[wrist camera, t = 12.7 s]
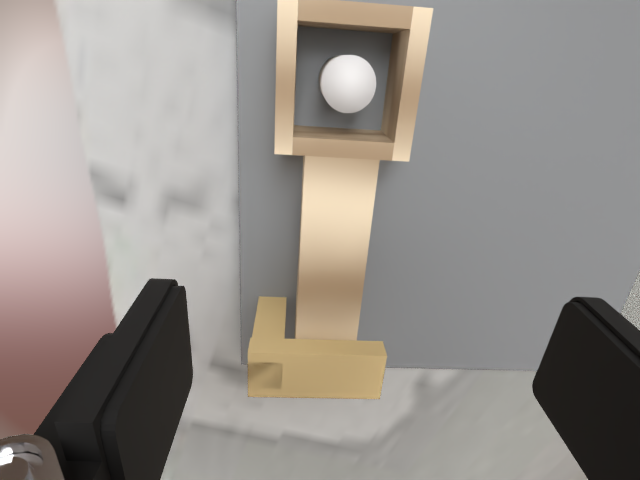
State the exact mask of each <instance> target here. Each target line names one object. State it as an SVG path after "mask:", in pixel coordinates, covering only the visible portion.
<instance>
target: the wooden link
mask: <svg viewBox="0 0 640 480" xmlns="http://www.w3.org/2000/svg"><path fill="white" fill-rule="evenodd" d="M432 14H433V8H426V7H413V6H401V5H389V4H377V3H365V2H353V1H341V0H277V50H276V100H275V150H274V154H282V155H300V156H303V176H302V196H301V216H300V236H299V256H298V276H297V296H296V316H295V336H294V339H318V340H355V341H357V333H358V326H359V318H360V310H361V302H362V294H363V287H364V279H365V271H366V263H367V255H368V247H369V240H370V232H371V224H372V216H373V208H374V201H375V193H376V185H377V177H378V169H379V162H380V160H389V161H406V162H409V159H410V153H411V147H412V140H413V134H414V128H415V121H416V115H417V109H418V102H419V96H420V90H421V83H422V77H423V71H424V64H425V58H426V52H427V45H428V39H429V33H430V27H431V20H432ZM298 26H303V27H316V28H328V29H341V30H354V31H367V32H380V33H393V36H392V44H391V52H390V60H389V68H388V76H387V84H386V92H385V100H384V108H383V116H382V124H381V130H366V129H349V128H333V127H317V126H300V125H294V112H295V87H296V61H297V35H298Z"/></svg>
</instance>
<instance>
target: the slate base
mask: <svg viewBox="0 0 640 480" xmlns="http://www.w3.org/2000/svg"><path fill="white" fill-rule="evenodd" d="M341 1H353V2H365V3H377V4H389V5H401V6H413V7H426V8H433V14H432V20H431V27H430V33H429V39H428V45H427V52H426V58H425V64H424V71H423V77H422V83H421V90H420V96H419V102H418V109H417V115H416V121H415V128H414V134H413V140H412V147H411V153H410V159H409V162H406V161H389V160H380V162H379V169H378V177H377V185H376V193H375V201H374V208H373V216H372V224H371V232H370V240H369V247H368V255H367V263H366V271H365V279H364V287H363V294H362V302H361V310H360V318H359V326H358V333H357V341H355V340H318V339H294V336H295V316H296V296H297V276H298V256H299V236H300V216H301V196H302V176H303V156H300V155H282V154H274V150H275V100H276V50H277V0H236V25H237V93H238V161H239V229H240V297H241V364H248V397H285V398H344V399H380V394H381V389H382V383H383V377H384V371H385V367H389V368H434V369H478V370H523V371H537V370H538V368H539V365H540V363H541V360H542V358H543V355H544V353H545V350H546V348H547V345H548V343H549V340H550V338H551V335H552V333H553V330H554V328H555V325H556V323H557V320H558V318H559V315H560V313H561V310H562V308H563V306H564V304H566V303H568V302H569V301H570V300H571V299H572V298H574V297H596V298H601V299H603V300H605V301H606V302H607V303H608V304H609V305H611V306H612V307H613V308H614V309H615V310H616V311H617V312H619V313H620V314H621V311H622V309H623V307H624V305H625V302H626V300H627V298H628V296H629V293H630V291H631V289H632V287H633V285H634V282H635V280H636V278H637V276H638V273H639V271H640V0H341ZM392 36H393V33H380V32H367V31H354V30H341V29H328V28H316V27H303V26H298V35H297V61H296V87H295V112H294V125H300V126H317V127H333V128H349V129H366V130H381V124H382V116H383V108H384V100H385V92H386V84H387V76H388V68H389V60H390V52H391V44H392Z"/></svg>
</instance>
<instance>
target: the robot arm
mask: <svg viewBox="0 0 640 480" xmlns="http://www.w3.org/2000/svg"><path fill="white" fill-rule="evenodd" d="M192 379H193V367H192V356H191V345H190V334H189V323H188V312H187V300H186V291H185V287H184V286H178V284H177V281H176V280H173V279H150V280H149V281H148V282H147V283H146V285H145V286H144V288H143V289H142V291H141V292H140V294H139V295H138V297H137V298H136V300H135V301H134V303H133V304H132V306H131V307H130V309H129V310H128V312H127V313H126V315H125V316H124V318H123V319H122V321H121V322H120V324H119V325H118V327H117V328H116V330H115V331H114V333H108V334H105V335H104V336H103V337H102V338H101V339H100V340H99V341H98V343H97V344H96V346H95V347H94V349H93V350H92V352H91V353H90V354H89V356H88V357H87V359H86V360H85V362H84V363H83V364H82V366H81V367H80V369H79V370H78V372H77V373H76V374H75V376H74V377H73V379H72V380H71V382H70V383H69V384H68V386H67V387H66V389H65V390H64V392H63V393H62V395H61V396H60V397H59V399H58V400H57V402H56V403H55V405H54V406H53V407H52V409H51V410H50V412H49V413H48V415H47V416H46V417H45V419H44V421H43V422H42V423H41V425H40V426H39V428H38V429H37V430H36V432H35V433H34V435H29V434H22V435H16V436H10V437H6V438H3V439H0V480H160V478H161V475H162V472H163V469H164V466H165V463H166V460H167V457H168V454H169V451H170V448H171V445H172V442H173V439H174V436H175V433H176V430H177V427H178V424H179V421H180V418H181V415H182V412H183V409H184V406H185V403H186V400H187V397H188V394H189V391H190V389H191V385H192ZM532 388H533V393H534V396H535V398H536V399H537V401H538V402H539V404H540V405H541V407H542V408H543V410H544V412H545V413H546V415H547V416H548V418H549V419H550V421H551V422H552V424H553V425H554V427H555V429H556V430H557V432H558V433H559V435H560V436H561V438H562V439H563V441H564V442H565V444H566V446H567V447H568V449H569V450H570V452H571V453H572V455H573V456H574V458H575V460H576V461H577V463H578V464H579V466H580V467H581V469H582V470H583V472H584V473H585V475H586V477H587V478H588V480H640V331H639V330H638V329H637V328H636V327H635V326H634V325H632V324H631V323H630V322H629V321H628V320H627V319H626V318H624V317H623V316H622V315H621V314H620V313H619V312H617V311H616V310H615V309H614V308H613V307H612V306H611V305H609V304H608V303H607V302H606V301H605V300H603V299H601V298H596V297H574V298H572V299H571V300H570V301H569V302H568V303H566V304H564V306H563V308H562V310H561V313H560V315H559V318H558V320H557V323H556V325H555V328H554V330H553V333H552V335H551V338H550V340H549V343H548V345H547V348H546V350H545V353H544V355H543V358H542V360H541V363H540V365H539V368H538V370H537V373H536V375H535V378H534V380H533V385H532Z"/></svg>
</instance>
